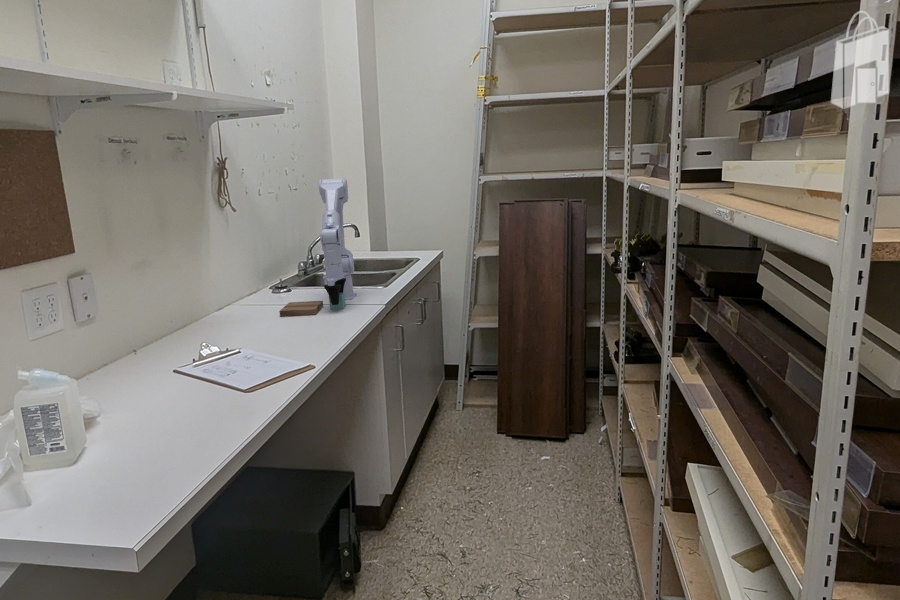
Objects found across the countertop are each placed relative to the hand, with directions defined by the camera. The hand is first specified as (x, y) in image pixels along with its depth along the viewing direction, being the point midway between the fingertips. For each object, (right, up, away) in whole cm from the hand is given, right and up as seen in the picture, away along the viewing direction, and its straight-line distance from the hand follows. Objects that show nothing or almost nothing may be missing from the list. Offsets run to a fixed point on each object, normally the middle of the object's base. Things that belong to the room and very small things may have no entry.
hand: (337, 301), depth 199 cm
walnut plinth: (-12, -3, -1) cm, 12 cm away
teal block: (0, -2, +1) cm, 2 cm away
